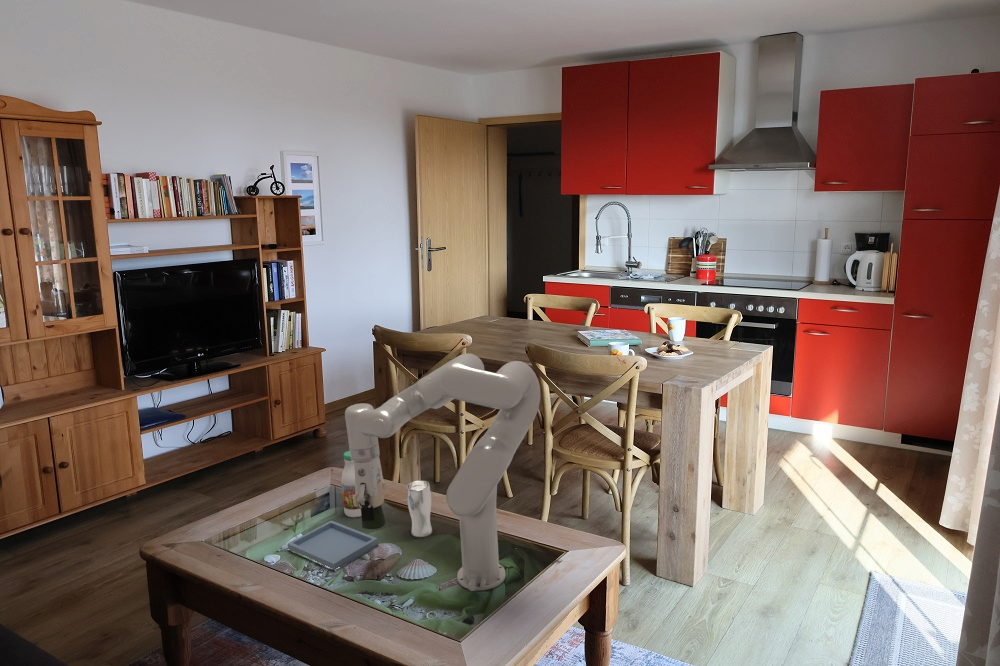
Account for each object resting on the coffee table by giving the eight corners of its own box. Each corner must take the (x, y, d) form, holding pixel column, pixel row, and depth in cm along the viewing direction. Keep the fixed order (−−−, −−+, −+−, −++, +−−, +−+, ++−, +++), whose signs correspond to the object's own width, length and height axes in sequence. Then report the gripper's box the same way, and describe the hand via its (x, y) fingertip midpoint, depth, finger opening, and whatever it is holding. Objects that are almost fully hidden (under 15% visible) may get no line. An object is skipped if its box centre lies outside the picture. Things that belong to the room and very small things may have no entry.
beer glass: (432, 537, 211) (428, 490, 208) (408, 538, 212) (404, 490, 208) (434, 526, 218) (431, 479, 215) (411, 526, 218) (407, 480, 215)
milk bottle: (343, 509, 232) (337, 450, 227) (367, 504, 234) (361, 446, 229) (345, 519, 225) (339, 459, 220) (370, 515, 227) (365, 455, 222)
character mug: (380, 515, 201) (374, 471, 198) (398, 521, 196) (392, 476, 194) (349, 531, 193) (343, 486, 190) (367, 538, 188) (360, 492, 185)
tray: (378, 545, 208) (377, 538, 208) (334, 571, 196) (333, 563, 195) (332, 527, 220) (331, 520, 220) (288, 551, 208) (287, 543, 207)
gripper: (370, 463, 181) (378, 528, 185) (386, 438, 198) (393, 497, 202) (341, 465, 182) (349, 529, 186) (359, 439, 199) (366, 498, 203)
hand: (372, 512), depth 194 cm, fingers closed on character mug, 8 cm apart
